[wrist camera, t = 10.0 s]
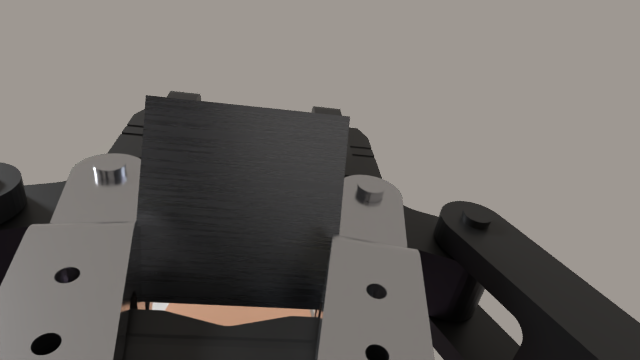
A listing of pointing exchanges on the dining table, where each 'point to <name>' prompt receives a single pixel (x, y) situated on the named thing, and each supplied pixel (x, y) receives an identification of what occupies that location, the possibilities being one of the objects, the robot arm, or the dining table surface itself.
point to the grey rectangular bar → (238, 203)
